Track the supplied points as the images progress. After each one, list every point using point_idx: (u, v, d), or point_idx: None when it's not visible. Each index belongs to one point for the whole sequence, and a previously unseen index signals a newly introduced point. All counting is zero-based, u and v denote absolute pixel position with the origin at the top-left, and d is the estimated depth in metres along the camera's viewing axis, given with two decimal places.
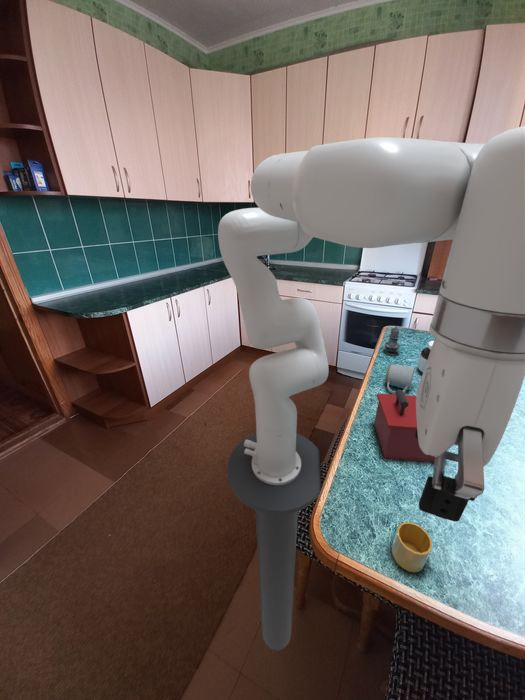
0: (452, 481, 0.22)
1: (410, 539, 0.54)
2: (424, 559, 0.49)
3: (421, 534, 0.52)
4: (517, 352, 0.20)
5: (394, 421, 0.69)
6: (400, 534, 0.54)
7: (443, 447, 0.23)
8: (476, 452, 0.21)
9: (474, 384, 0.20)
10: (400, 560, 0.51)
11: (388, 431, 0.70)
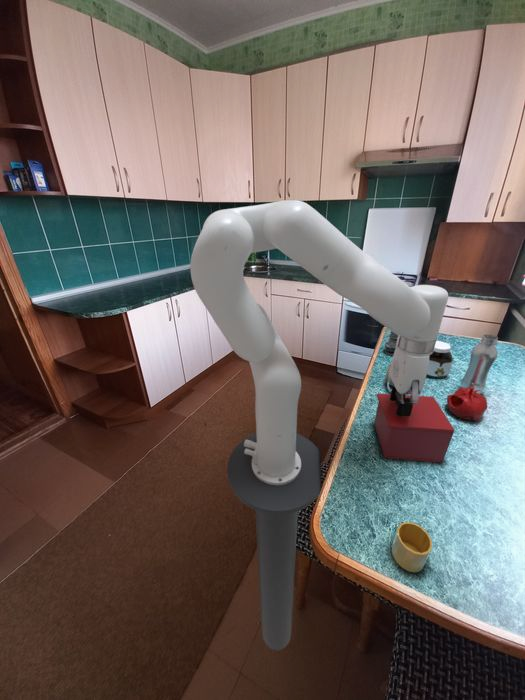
0: (408, 398, 0.65)
1: (410, 539, 0.54)
2: (424, 559, 0.49)
3: (421, 534, 0.52)
4: (426, 353, 0.61)
5: (394, 421, 0.69)
6: (400, 534, 0.54)
7: None
8: (416, 390, 0.63)
9: (415, 365, 0.61)
10: (400, 560, 0.51)
11: (388, 431, 0.70)
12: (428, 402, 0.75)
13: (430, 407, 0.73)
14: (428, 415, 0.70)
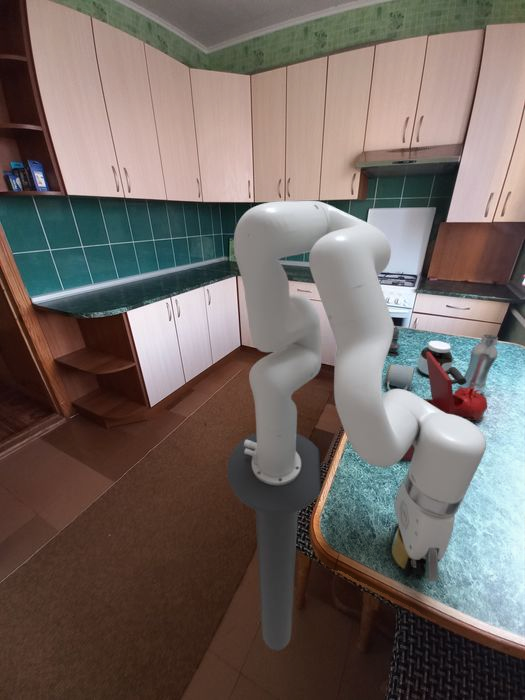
0: (422, 566, 0.45)
1: None
2: None
3: None
4: (449, 514, 0.41)
5: None
6: (400, 534, 0.54)
7: None
8: (434, 562, 0.43)
9: (433, 531, 0.42)
10: (400, 560, 0.51)
11: None
12: None
13: None
14: None
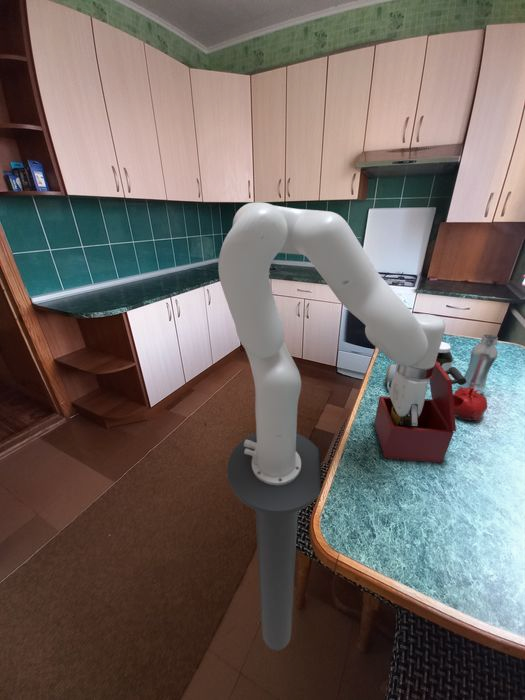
0: (407, 421, 0.68)
1: None
2: None
3: None
4: (424, 378, 0.64)
5: None
6: None
7: (404, 414, 0.68)
8: (415, 413, 0.66)
9: (414, 390, 0.64)
10: None
11: (388, 431, 0.70)
12: None
13: None
14: None
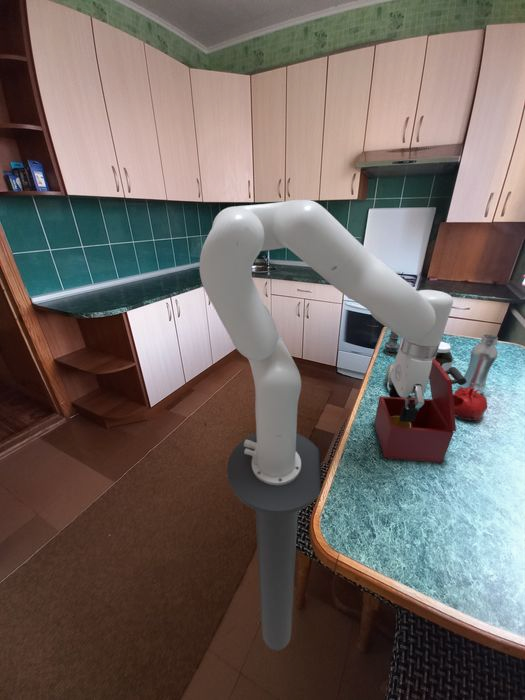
0: (413, 403, 0.63)
1: None
2: None
3: (404, 422, 0.76)
4: (429, 357, 0.62)
5: None
6: None
7: (408, 393, 0.64)
8: (420, 392, 0.62)
9: (418, 369, 0.62)
10: None
11: (388, 431, 0.70)
12: None
13: None
14: None
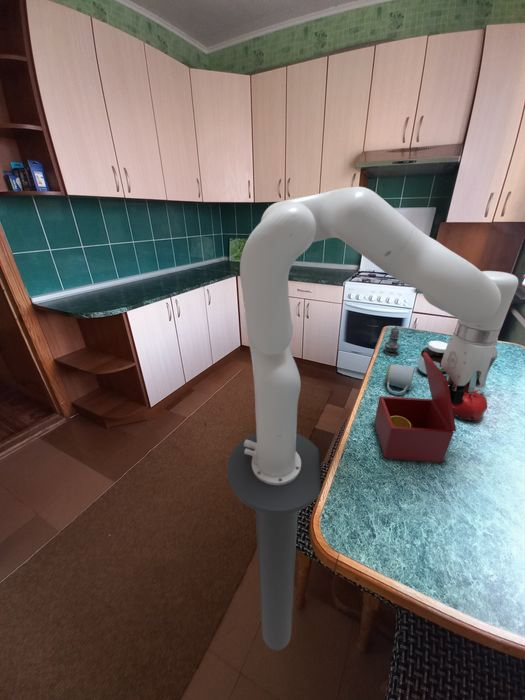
0: None
1: None
2: None
3: (404, 422, 0.76)
4: (490, 342, 0.58)
5: None
6: None
7: None
8: (474, 382, 0.61)
9: (478, 355, 0.59)
10: None
11: (388, 431, 0.70)
12: None
13: None
14: None
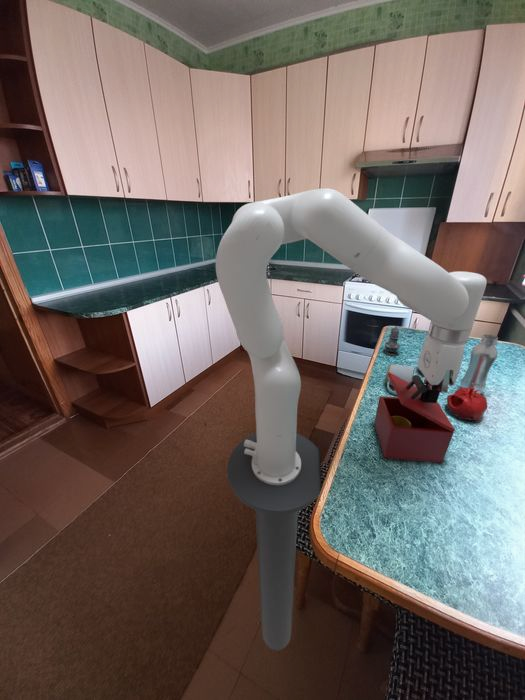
0: None
1: None
2: None
3: (404, 422, 0.76)
4: (461, 342, 0.59)
5: (407, 401, 0.66)
6: None
7: None
8: (447, 381, 0.62)
9: (450, 355, 0.59)
10: None
11: (388, 431, 0.70)
12: None
13: (434, 404, 0.72)
14: (433, 409, 0.69)
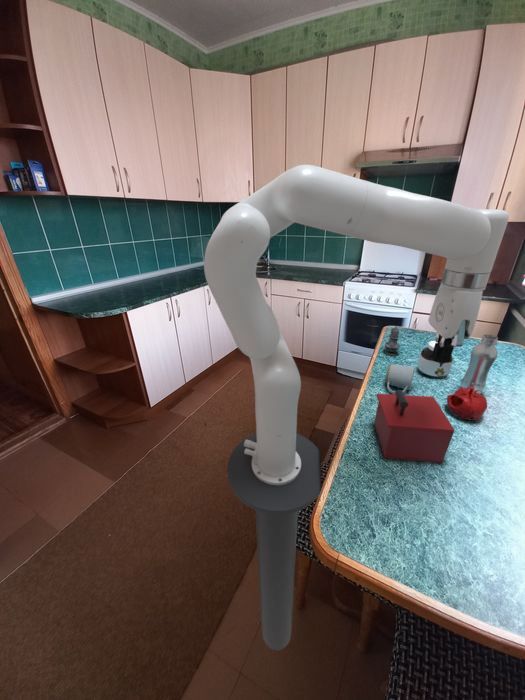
0: (450, 338, 0.60)
1: None
2: None
3: None
4: (479, 288, 0.54)
5: (394, 421, 0.69)
6: None
7: None
8: (462, 333, 0.57)
9: (466, 302, 0.54)
10: None
11: (388, 431, 0.70)
12: (428, 402, 0.75)
13: (430, 407, 0.73)
14: (428, 415, 0.70)
